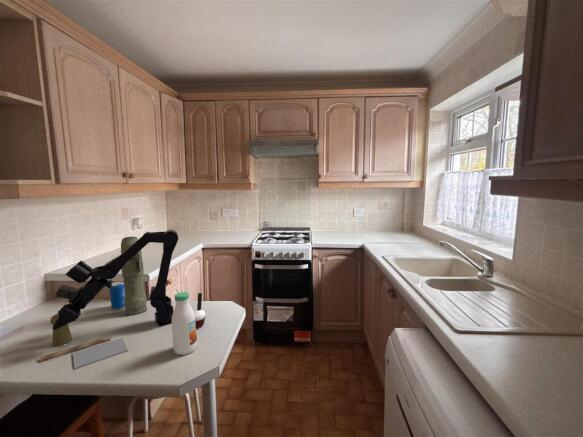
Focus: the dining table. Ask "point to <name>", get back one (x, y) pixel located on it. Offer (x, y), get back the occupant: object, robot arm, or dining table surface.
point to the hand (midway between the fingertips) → (57, 323)
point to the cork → (60, 333)
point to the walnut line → (74, 349)
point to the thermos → (133, 280)
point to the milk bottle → (183, 325)
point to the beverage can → (117, 295)
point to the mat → (99, 353)
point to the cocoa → (199, 313)
